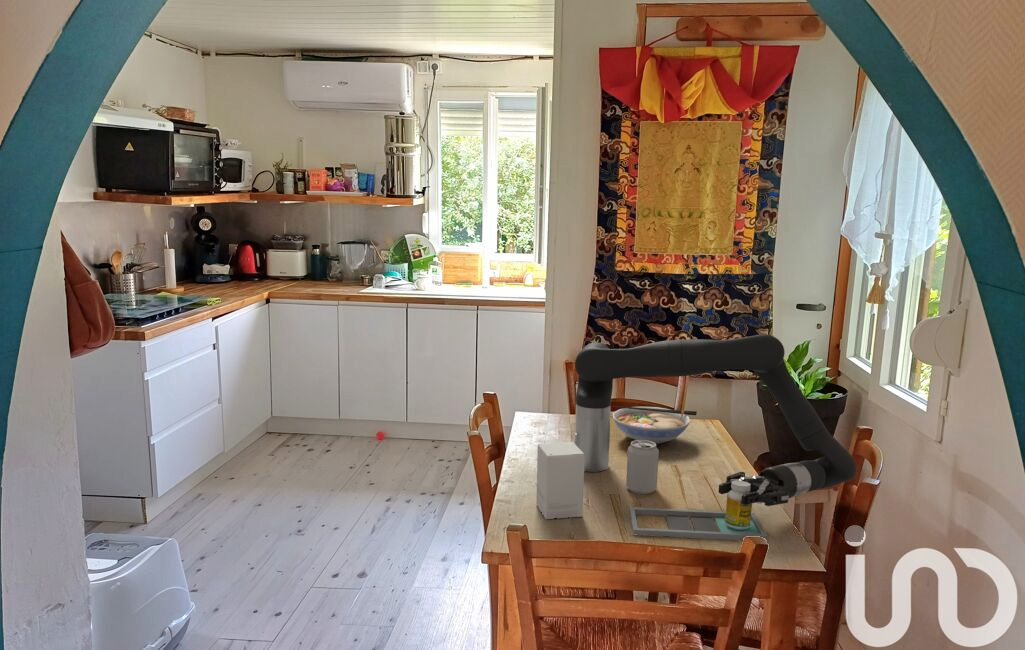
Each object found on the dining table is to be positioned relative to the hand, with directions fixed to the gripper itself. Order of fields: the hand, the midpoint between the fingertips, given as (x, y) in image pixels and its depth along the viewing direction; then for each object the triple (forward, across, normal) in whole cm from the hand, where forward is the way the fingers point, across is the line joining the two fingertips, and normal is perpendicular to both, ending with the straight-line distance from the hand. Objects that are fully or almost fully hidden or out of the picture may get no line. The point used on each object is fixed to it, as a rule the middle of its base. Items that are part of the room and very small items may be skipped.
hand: (731, 494), depth 162 cm
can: (+2, -27, +8) cm, 29 cm away
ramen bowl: (-25, -56, +8) cm, 62 cm away
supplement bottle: (-2, 0, +8) cm, 8 cm away
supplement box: (+27, -26, +8) cm, 38 cm away
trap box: (+5, -5, +8) cm, 11 cm away
